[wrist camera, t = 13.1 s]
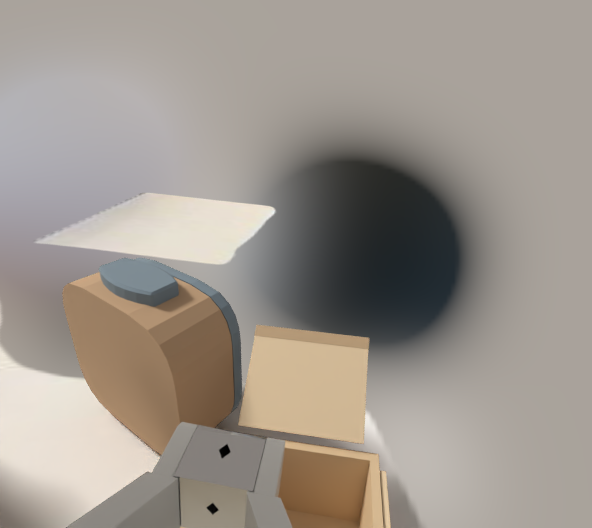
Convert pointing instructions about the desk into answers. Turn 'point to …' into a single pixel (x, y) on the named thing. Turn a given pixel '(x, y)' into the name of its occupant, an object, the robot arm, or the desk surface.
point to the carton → (333, 488)
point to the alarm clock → (155, 347)
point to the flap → (307, 384)
